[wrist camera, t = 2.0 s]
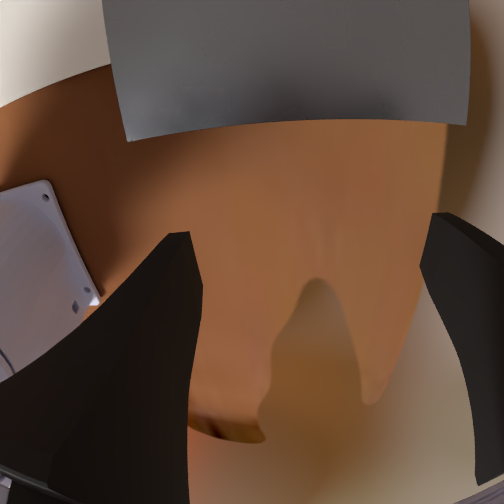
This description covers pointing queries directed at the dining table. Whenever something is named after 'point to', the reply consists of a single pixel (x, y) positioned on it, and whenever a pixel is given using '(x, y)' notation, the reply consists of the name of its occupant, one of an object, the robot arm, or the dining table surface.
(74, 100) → the dining table surface
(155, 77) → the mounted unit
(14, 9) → the plate
